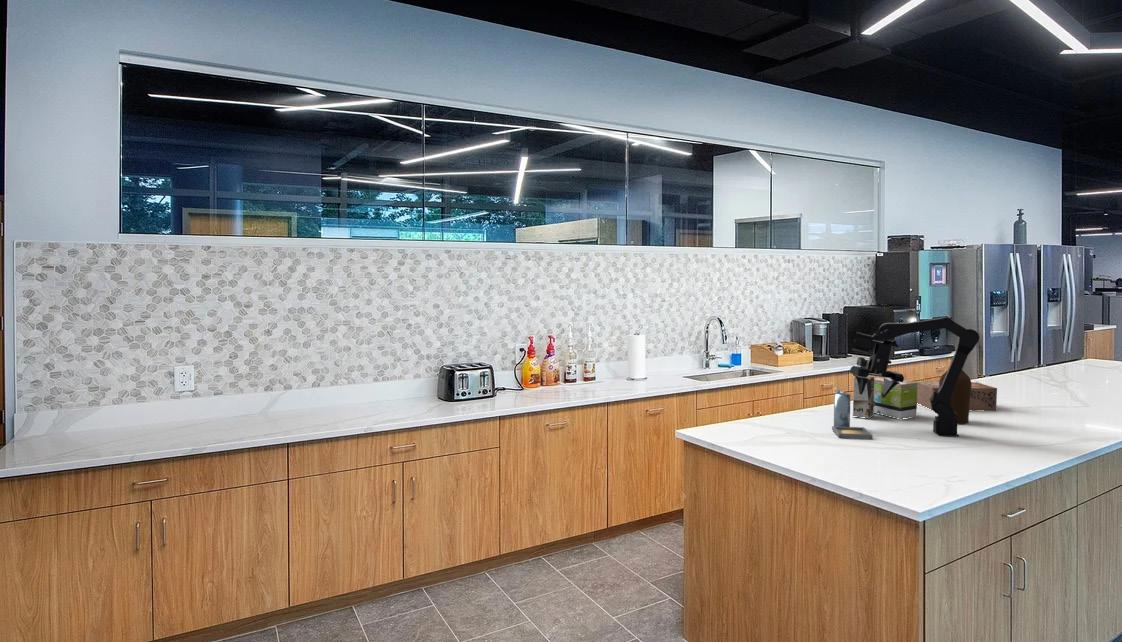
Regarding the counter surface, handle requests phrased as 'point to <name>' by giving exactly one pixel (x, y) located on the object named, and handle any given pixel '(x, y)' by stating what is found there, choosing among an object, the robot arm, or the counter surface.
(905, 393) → the tea box
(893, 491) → the counter surface
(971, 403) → the tissue box cover
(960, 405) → the olive oil
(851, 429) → the tray
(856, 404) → the coffee box
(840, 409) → the spout can
